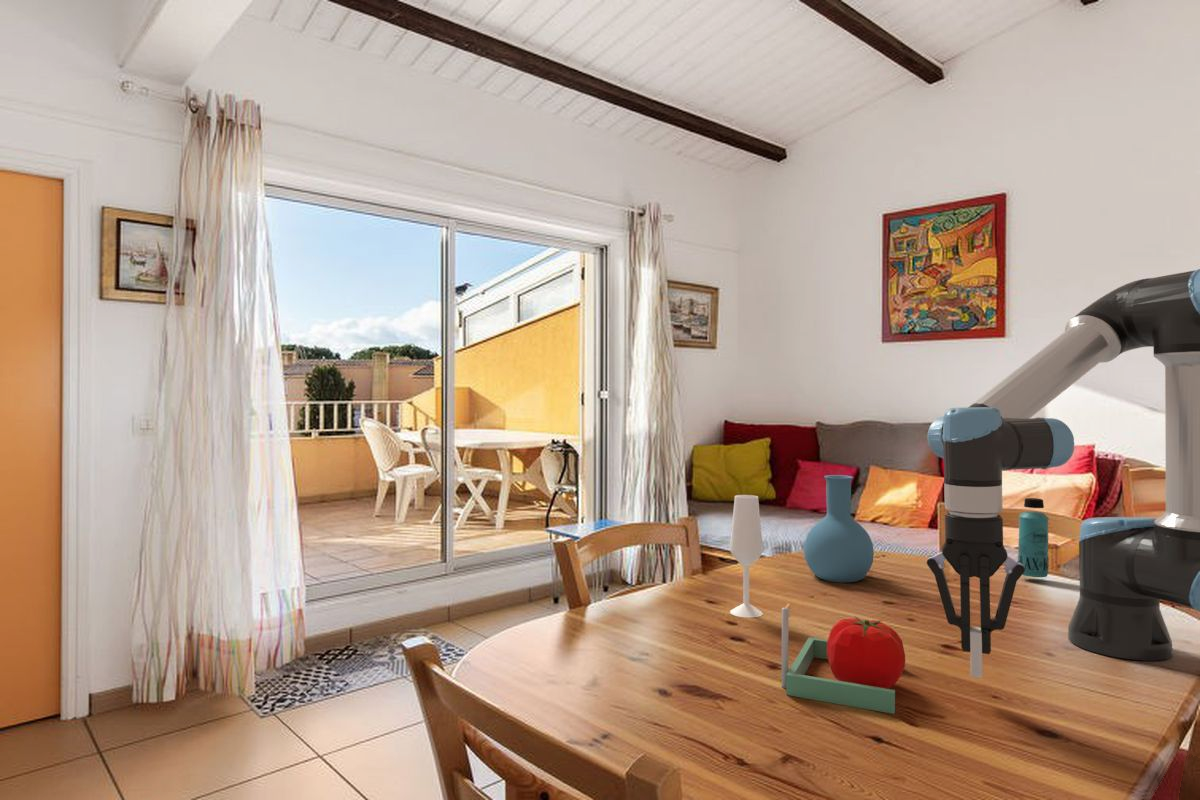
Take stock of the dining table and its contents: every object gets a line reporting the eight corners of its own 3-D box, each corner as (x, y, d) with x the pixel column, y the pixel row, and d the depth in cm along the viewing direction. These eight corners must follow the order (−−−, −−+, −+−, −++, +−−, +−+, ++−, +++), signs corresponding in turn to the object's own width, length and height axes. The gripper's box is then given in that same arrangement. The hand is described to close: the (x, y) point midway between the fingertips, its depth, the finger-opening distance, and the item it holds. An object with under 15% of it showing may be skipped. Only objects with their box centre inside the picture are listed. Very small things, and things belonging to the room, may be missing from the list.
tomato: (809, 679, 115) (809, 614, 115) (860, 667, 120) (860, 604, 120) (869, 708, 104) (869, 636, 104) (923, 692, 110) (923, 624, 109)
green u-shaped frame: (902, 668, 119) (903, 595, 119) (894, 713, 102) (894, 628, 102) (801, 653, 126) (801, 584, 126) (777, 693, 109) (777, 613, 109)
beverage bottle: (1011, 578, 179) (1011, 497, 179) (1032, 576, 181) (1032, 496, 181) (1034, 584, 173) (1034, 500, 173) (1055, 582, 175) (1056, 499, 175)
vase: (880, 575, 182) (880, 475, 182) (866, 589, 168) (866, 481, 168) (814, 567, 191) (814, 471, 191) (795, 580, 177) (795, 477, 177)
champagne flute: (728, 616, 148) (728, 498, 148) (730, 607, 154) (730, 493, 154) (762, 618, 146) (762, 499, 146) (763, 609, 153) (763, 494, 153)
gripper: (1022, 511, 107) (1025, 671, 107) (925, 507, 112) (928, 659, 113) (1027, 519, 100) (1030, 690, 100) (923, 514, 106) (926, 676, 106)
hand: (976, 673), depth 106 cm, fingers closed
